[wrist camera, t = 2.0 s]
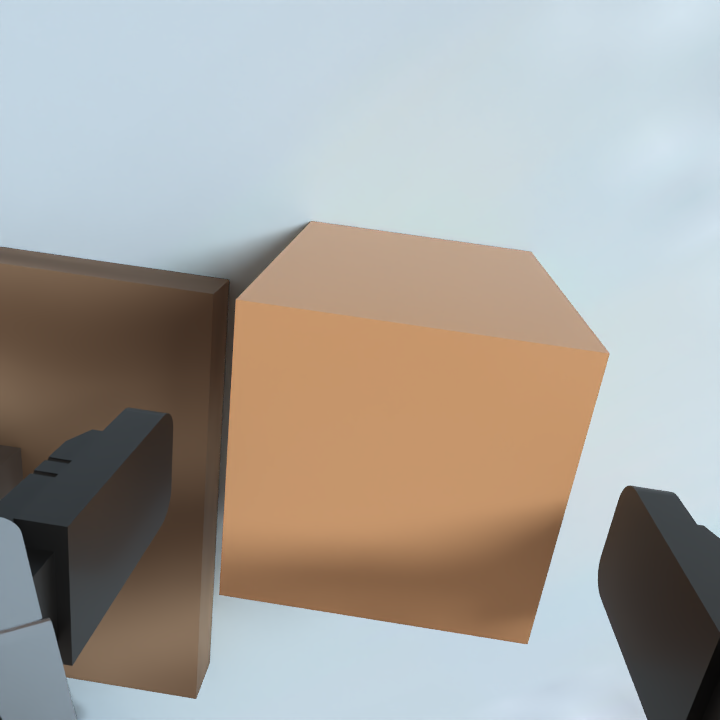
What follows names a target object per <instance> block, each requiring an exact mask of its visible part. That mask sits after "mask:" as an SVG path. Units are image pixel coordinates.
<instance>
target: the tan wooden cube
mask: <svg viewBox="0 0 720 720" xmlns="http://www.w3.org/2000/svg"><path fill="white" fill-rule="evenodd" d="M609 354H610V353H609V352H608V351H607V350H606V348H605V347H604V346H603V344H602V343H601V342H600V341H599V339H598V338H597V337H596V335H595V334H594V333H593V331H592V330H591V329H590V328H589V326H588V325H587V324H586V322H585V321H584V320H583V318H582V317H581V316H580V315H579V313H578V312H577V311H576V309H575V308H574V307H573V305H572V304H571V303H570V302H569V300H568V299H567V298H566V296H565V295H564V294H563V293H562V291H561V290H560V289H559V287H558V286H557V285H556V283H555V282H554V281H553V280H552V278H551V277H550V276H549V274H548V273H547V272H546V270H545V269H544V268H543V267H542V265H541V264H540V263H539V261H538V260H537V259H536V257H535V256H534V255H533V254H532V252H529V251H522V250H515V249H508V248H501V247H493V246H486V245H479V244H472V243H465V242H458V241H451V240H443V239H436V238H429V237H422V236H415V235H408V234H400V233H393V232H386V231H379V230H372V229H365V228H358V227H350V226H343V225H336V224H329V223H322V222H315V221H311V222H310V223H309V224H308V225H307V226H306V227H305V228H304V229H303V230H302V231H301V232H300V233H299V234H298V235H297V236H296V237H295V238H294V239H293V241H292V242H291V243H290V244H289V245H288V246H287V247H286V248H285V249H284V250H283V251H282V252H281V253H280V254H279V255H278V256H277V257H276V258H275V259H274V260H273V261H272V262H271V263H270V264H269V265H268V267H267V268H266V269H265V270H264V271H263V272H262V273H261V274H260V275H259V276H258V277H257V278H256V279H255V280H254V281H253V282H252V283H251V284H250V285H249V286H248V287H247V288H246V289H245V290H244V291H243V293H242V294H241V295H240V296H239V297H238V298H237V299H236V305H235V323H234V340H233V358H232V376H231V394H230V412H229V430H228V448H227V466H226V484H225V502H224V520H223V537H222V555H221V573H220V591H219V595H224V596H230V597H236V598H243V599H249V600H255V601H261V602H268V603H274V604H280V605H286V606H292V607H299V608H305V609H311V610H317V611H323V612H330V613H336V614H342V615H348V616H355V617H361V618H367V619H373V620H379V621H386V622H392V623H398V624H404V625H411V626H417V627H423V628H429V629H435V630H442V631H448V632H454V633H460V634H467V635H473V636H479V637H485V638H491V639H498V640H504V641H510V642H516V643H522V644H528V640H529V637H530V633H531V630H532V626H533V622H534V619H535V615H536V612H537V608H538V605H539V601H540V598H541V594H542V591H543V587H544V584H545V580H546V577H547V573H548V569H549V566H550V562H551V559H552V555H553V552H554V548H555V545H556V541H557V538H558V534H559V531H560V527H561V524H562V520H563V516H564V513H565V509H566V506H567V502H568V499H569V495H570V492H571V488H572V485H573V481H574V478H575V474H576V471H577V467H578V463H579V460H580V456H581V453H582V449H583V446H584V442H585V439H586V435H587V432H588V428H589V425H590V421H591V417H592V414H593V410H594V407H595V403H596V400H597V396H598V393H599V389H600V386H601V382H602V379H603V375H604V372H605V368H606V364H607V361H608V357H609Z"/></svg>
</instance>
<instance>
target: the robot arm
mask: <svg viewBox="0 0 720 720" xmlns="http://www.w3.org/2000/svg"><path fill="white" fill-rule="evenodd" d="M172 454H173V419H172V416H171V415H170V414H169V413H162V412H156V411H149V410H143V409H137V408H130V407H128V408H126V409H124V410H123V411H122V412H121V413H120V414H119V415H118V416H117V417H116V418H115V419H114V420H113V421H112V422H111V423H110V424H109V425H108V426H107V427H106V428H105V429H104V430H103V431H100V430H93V429H92V430H90V431H88V432H85V433H83V434H81V435H78V436H76V437H74V438H72V439H69V440H67V441H65V442H64V443H63V444H62V445H61V446H60V447H59V448H58V449H57V450H55V451H54V452H53V453H52V454H51V455H50V456H49V457H48V460H44V461H43V462H42V463H41V464H40V465H39V466H38V467H37V468H36V469H34V472H33V474H29V475H28V476H27V477H26V478H25V479H23V480H22V481H21V482H20V483H19V484H18V485H17V486H16V487H15V488H13V489H12V490H11V491H10V492H9V493H8V494H7V495H6V496H5V497H4V498H2V499H1V500H0V720H77V717H76V713H75V709H74V706H73V702H72V698H71V694H70V690H69V686H68V682H67V679H66V675H65V671H64V667H63V665H69V666H73V664H74V663H75V661H76V659H77V658H78V656H79V655H80V653H81V652H82V650H83V648H84V647H85V645H86V644H87V642H88V641H89V639H90V637H91V636H92V634H93V633H94V631H95V630H96V628H97V626H98V625H99V623H100V622H101V620H102V619H103V617H104V615H105V614H106V612H107V611H108V609H109V607H110V606H111V604H112V603H113V601H114V600H115V598H116V596H117V595H118V593H119V592H120V590H121V589H122V587H123V585H124V584H125V582H126V581H127V579H128V578H129V576H130V574H131V573H132V571H133V570H134V568H135V567H136V565H137V563H138V562H139V560H140V559H141V557H142V556H143V554H144V552H145V551H146V549H147V548H148V546H149V545H150V543H151V541H152V540H153V538H154V537H155V535H156V534H157V532H158V530H159V529H160V527H161V526H162V524H163V522H164V519H165V517H166V514H167V511H168V507H169V503H170V497H171V485H172ZM598 588H599V593H600V597H601V600H602V603H603V605H604V608H605V610H606V613H607V616H608V618H609V621H610V623H611V626H612V629H613V631H614V634H615V636H616V639H617V642H618V644H619V647H620V649H621V652H622V655H623V657H624V660H625V662H626V665H627V668H628V670H629V673H630V675H631V678H632V681H633V683H634V686H635V688H636V691H637V694H638V696H639V699H640V701H641V704H642V707H643V709H644V712H645V715H646V717H647V720H720V538H719V537H717V536H716V535H715V534H713V533H712V532H711V531H710V530H708V529H707V528H706V527H705V526H702V525H697V524H696V522H695V521H694V519H693V518H692V516H691V515H690V514H689V512H688V511H687V509H686V508H685V506H684V505H683V503H682V502H681V501H680V499H679V498H678V496H677V495H676V494H675V493H673V492H668V491H661V490H655V489H649V488H642V487H636V486H627V487H625V488H624V490H623V491H622V493H621V495H620V497H619V500H618V503H617V507H616V510H615V513H614V516H613V520H612V523H611V526H610V529H609V533H608V536H607V539H606V542H605V545H604V549H603V552H602V555H601V559H600V563H599V569H598Z"/></svg>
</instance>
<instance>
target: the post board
mask: <svg viewBox="0 0 720 720" xmlns="http://www.w3.org/2000/svg"><path fill="white" fill-rule="evenodd" d="M228 295H229V280H228V279H221V278H214V277H207V276H201V275H194V274H187V273H180V272H173V271H166V270H159V269H152V268H145V267H138V266H131V265H124V264H117V263H110V262H103V261H96V260H89V259H82V258H75V257H68V256H61V255H54V254H47V253H40V252H33V251H27V250H20V249H13V248H6V247H0V500H1V499H2V498H4V497H5V496H6V495H7V494H8V493H9V492H10V491H11V490H12V489H13V488H15V487H16V486H17V485H18V484H19V483H20V482H21V481H22V480H23V479H25V478H26V477H27V476H28V475H29V474H33V472H34V469H36V468H37V467H38V466H39V465H40V464H41V463H42V462H43V461H44V460H48V457H49V456H50V455H51V454H52V453H53V452H54V451H55V450H57V449H58V448H59V447H60V446H61V445H62V444H63V443H64V442H65V441H67V440H69V439H72V438H74V437H76V436H78V435H81V434H83V433H85V432H88V431H90V430H92V429H93V430H100V431H103V430H104V429H105V428H106V427H107V426H108V425H109V424H110V423H111V422H112V421H113V420H114V419H115V418H116V417H117V416H118V415H119V414H120V413H121V412H122V411H123V410H124V409H126V408H128V407H130V408H137V409H143V410H149V411H156V412H162V413H169V414H170V415H171V416H172V419H173V454H172V485H171V497H170V503H169V507H168V511H167V514H166V517H165V519H164V522H163V524H162V526H161V527H160V529H159V530H158V532H157V534H156V535H155V537H154V538H153V540H152V541H151V543H150V545H149V546H148V548H147V549H146V551H145V552H144V554H143V556H142V557H141V559H140V560H139V562H138V563H137V565H136V567H135V568H134V570H133V571H132V573H131V574H130V576H129V578H128V579H127V581H126V582H125V584H124V585H123V587H122V589H121V590H120V592H119V593H118V595H117V596H116V598H115V600H114V601H113V603H112V604H111V606H110V607H109V609H108V611H107V612H106V614H105V615H104V617H103V619H102V620H101V622H100V623H99V625H98V626H97V628H96V630H95V631H94V633H93V634H92V636H91V637H90V639H89V641H88V642H87V644H86V645H85V647H84V648H83V650H82V652H81V653H80V655H79V656H78V658H77V659H76V661H75V663H74V664H73V666H69V665H63V667H64V671H65V675H66V677H68V678H74V679H80V680H86V681H92V682H98V683H104V684H110V685H116V686H122V687H128V688H134V689H140V690H146V691H152V692H158V693H164V694H170V695H176V696H182V697H188V698H194V699H196V698H197V695H198V692H199V690H200V687H201V685H202V682H203V679H204V677H205V674H206V671H207V669H208V666H209V663H210V645H211V626H212V606H213V587H214V567H215V548H216V528H217V509H218V490H219V470H220V451H221V431H222V412H223V392H224V373H225V353H226V334H227V315H228Z"/></svg>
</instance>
